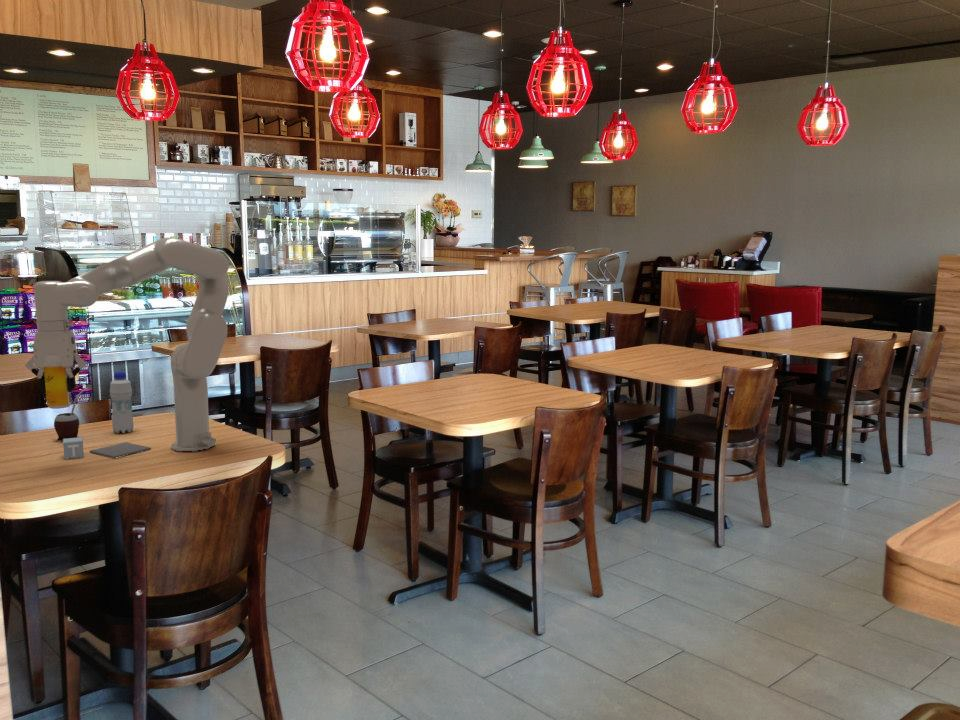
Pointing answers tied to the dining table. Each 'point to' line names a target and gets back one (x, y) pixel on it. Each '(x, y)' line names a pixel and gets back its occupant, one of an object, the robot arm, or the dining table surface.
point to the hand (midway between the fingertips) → (58, 391)
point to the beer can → (56, 383)
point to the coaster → (120, 449)
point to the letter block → (73, 447)
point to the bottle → (121, 403)
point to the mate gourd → (67, 424)
